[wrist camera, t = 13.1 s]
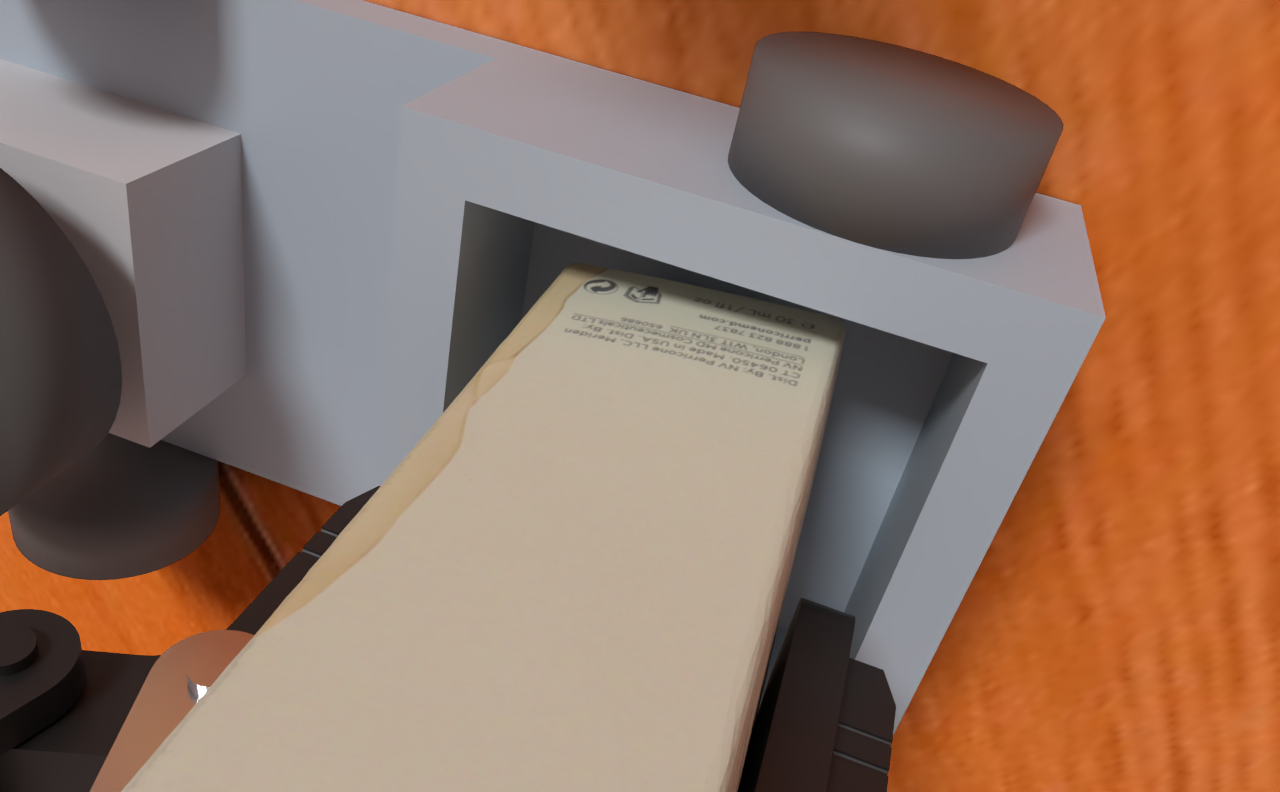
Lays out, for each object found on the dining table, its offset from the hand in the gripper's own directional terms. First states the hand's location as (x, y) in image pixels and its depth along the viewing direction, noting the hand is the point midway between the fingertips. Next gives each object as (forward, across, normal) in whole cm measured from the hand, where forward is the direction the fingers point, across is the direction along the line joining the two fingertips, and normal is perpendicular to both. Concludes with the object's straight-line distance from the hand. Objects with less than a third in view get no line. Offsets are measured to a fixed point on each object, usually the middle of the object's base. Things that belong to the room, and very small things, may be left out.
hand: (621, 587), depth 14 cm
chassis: (+6, +6, 0) cm, 8 cm away
